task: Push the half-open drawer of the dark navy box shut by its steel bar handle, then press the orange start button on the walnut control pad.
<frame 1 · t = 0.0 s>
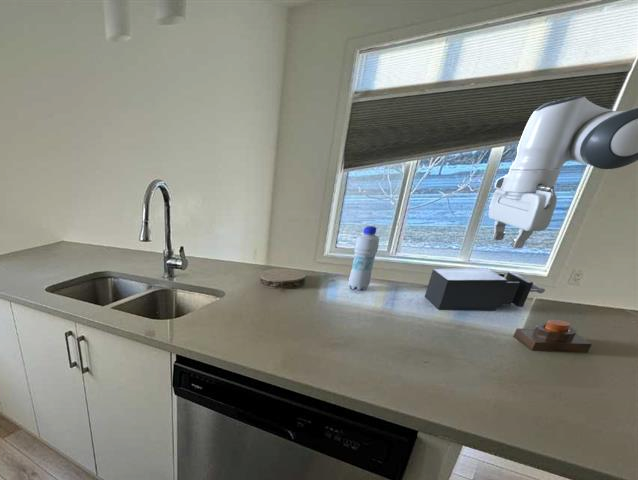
hand: (506, 243, 101), 19 cm above the countertop, tool pointing down, fingers open, 8 cm apart
start button: (557, 326, 91), point 5 cm above the countertop, slide at 0.2 cm
dark navy box: (458, 303, 118), on the countertop
control pad: (548, 344, 93), on the countertop
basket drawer: (500, 289, 113), point 4 cm above the countertop, slide at 5.0 cm
round wood slice: (281, 282, 148), on the countertop
bottle: (357, 288, 136), on the countertop
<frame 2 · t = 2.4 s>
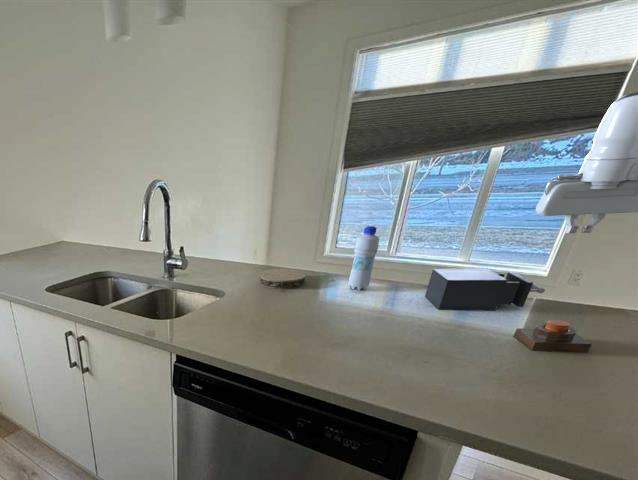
hand: (577, 232, 103), 19 cm above the countertop, tool pointing down, fingers closed
nothing on the countertop moved.
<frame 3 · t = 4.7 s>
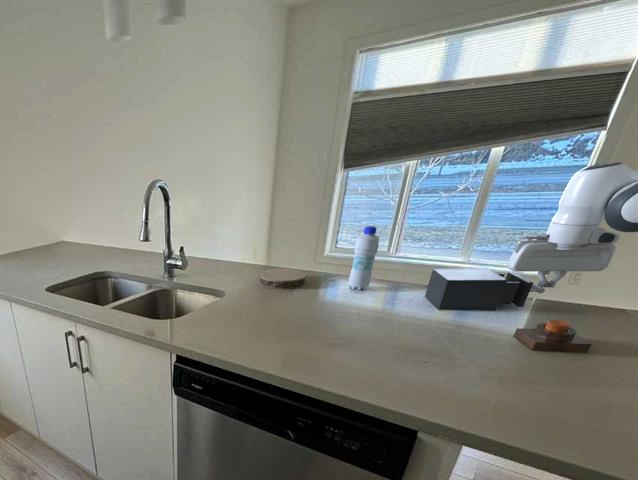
hand: (545, 286, 110), 5 cm above the countertop, tool pointing down, fingers closed
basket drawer: (500, 289, 113), point 4 cm above the countertop, slide at 5.0 cm, touching gripper
everything else where it was.
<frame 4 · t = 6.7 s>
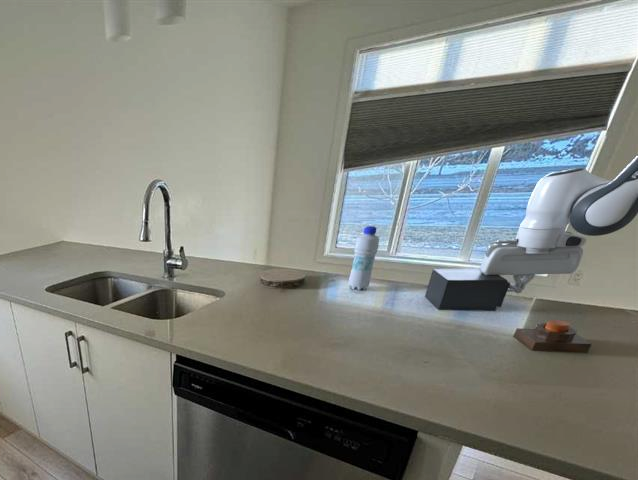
hand: (518, 289, 112), 4 cm above the countertop, tool pointing down, fingers closed, pressing on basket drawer
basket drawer: (479, 289, 115), point 4 cm above the countertop, slide at 0.0 cm, touching dark navy box, gripper
everything else where it was.
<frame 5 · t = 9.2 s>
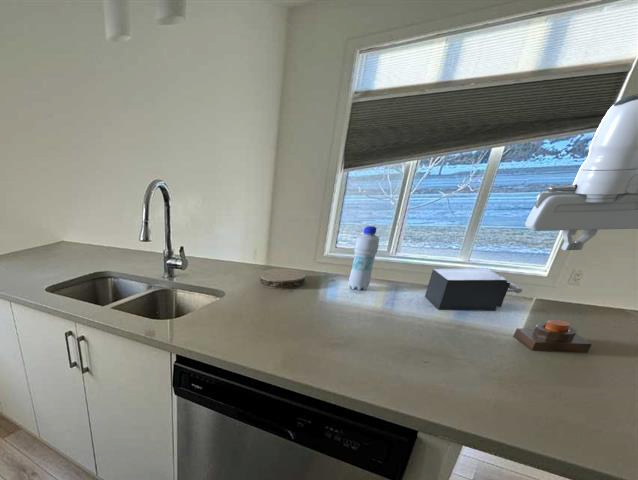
hand: (570, 249, 93), 18 cm above the countertop, tool pointing down, fingers closed
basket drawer: (479, 289, 115), point 4 cm above the countertop, slide at 0.0 cm, touching dark navy box
everything else where it was.
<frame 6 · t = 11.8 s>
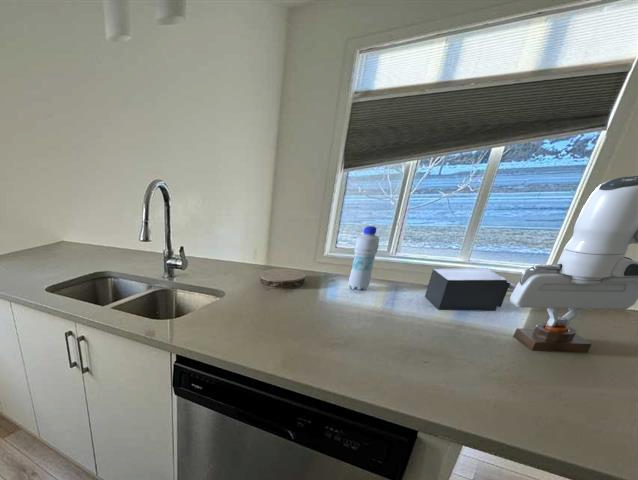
hand: (556, 325, 91), 5 cm above the countertop, tool pointing down, fingers closed, pressing on start button
start button: (555, 329, 91), point 4 cm above the countertop, slide at -0.7 cm, touching gripper
everything else where it was.
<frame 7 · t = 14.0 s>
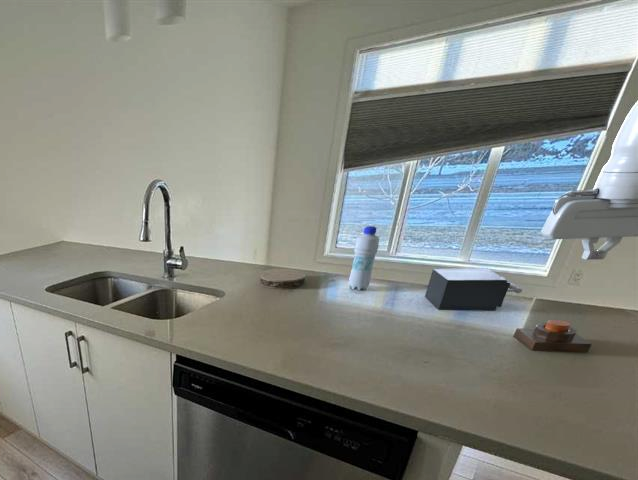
hand: (592, 258, 85), 19 cm above the countertop, tool pointing down, fingers closed
start button: (557, 326, 91), point 5 cm above the countertop, slide at 0.1 cm
everything else where it was.
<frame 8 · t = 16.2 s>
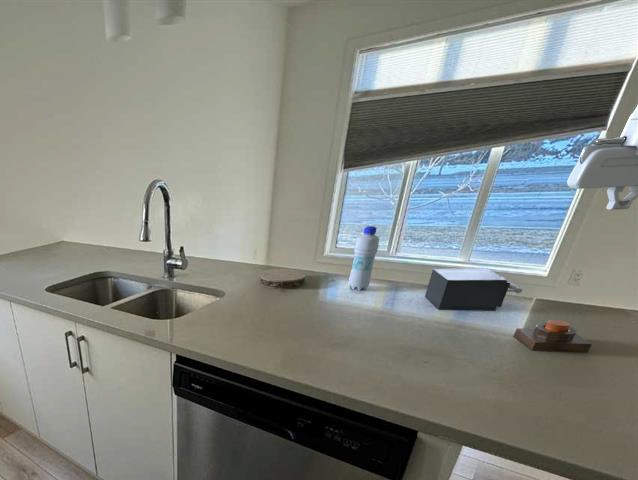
hand: (616, 209, 87), 27 cm above the countertop, tool pointing down, fingers closed
nothing on the countertop moved.
at the end: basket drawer slide at 0.0 cm; start button pushed in 1.0 cm at the most during the clip, back to where it started at the end; start button slide at 0.1 cm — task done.
